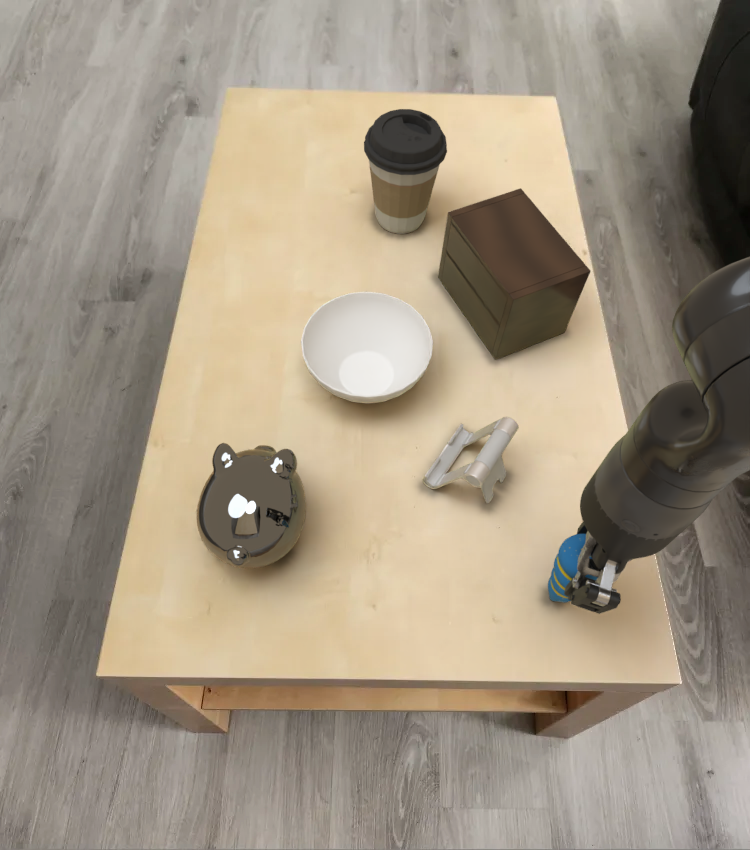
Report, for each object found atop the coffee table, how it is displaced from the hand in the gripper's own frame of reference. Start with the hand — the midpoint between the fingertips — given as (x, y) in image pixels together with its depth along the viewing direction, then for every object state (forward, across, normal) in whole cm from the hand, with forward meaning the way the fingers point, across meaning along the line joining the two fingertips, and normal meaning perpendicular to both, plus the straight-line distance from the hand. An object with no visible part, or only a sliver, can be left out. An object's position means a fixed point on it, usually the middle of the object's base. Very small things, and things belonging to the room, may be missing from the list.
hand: (581, 564), depth 65 cm
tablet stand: (+11, +11, +13) cm, 20 cm away
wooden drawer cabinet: (+10, +38, +16) cm, 43 cm away
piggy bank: (+11, -4, +33) cm, 35 cm away
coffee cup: (+11, +50, +34) cm, 61 cm away
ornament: (+11, 0, 0) cm, 11 cm away
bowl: (+11, +20, +29) cm, 37 cm away
